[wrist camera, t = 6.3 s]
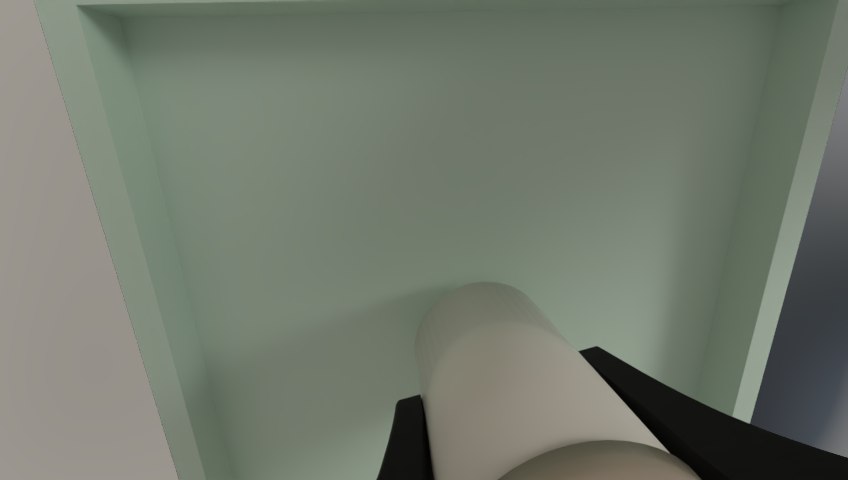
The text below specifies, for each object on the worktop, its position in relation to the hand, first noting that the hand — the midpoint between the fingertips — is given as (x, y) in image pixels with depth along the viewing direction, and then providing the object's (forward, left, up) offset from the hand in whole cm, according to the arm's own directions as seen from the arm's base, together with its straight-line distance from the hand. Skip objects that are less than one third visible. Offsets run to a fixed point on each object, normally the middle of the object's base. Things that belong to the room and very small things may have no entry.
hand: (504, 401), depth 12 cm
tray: (0, 0, -4) cm, 4 cm away
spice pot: (0, 0, -2) cm, 2 cm away
